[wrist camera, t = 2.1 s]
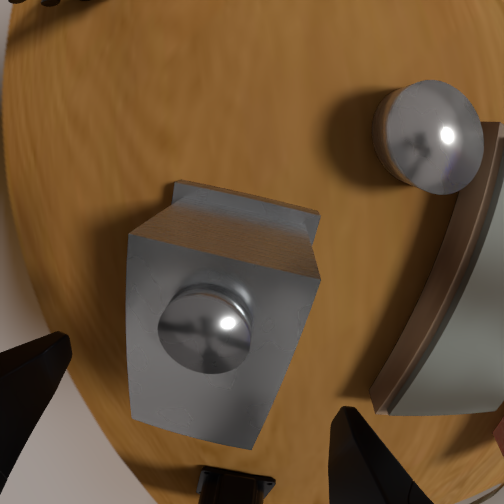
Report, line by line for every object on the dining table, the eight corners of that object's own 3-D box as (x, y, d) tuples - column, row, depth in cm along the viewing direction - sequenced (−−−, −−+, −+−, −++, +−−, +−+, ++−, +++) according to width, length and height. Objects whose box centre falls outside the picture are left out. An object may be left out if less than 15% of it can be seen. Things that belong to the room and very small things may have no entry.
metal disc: (442, 196, 12) (468, 208, 10) (360, 167, 12) (377, 173, 10) (462, 111, 10) (491, 109, 8) (381, 73, 10) (401, 61, 8)
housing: (267, 367, 16) (259, 472, 10) (163, 341, 16) (115, 434, 10) (317, 210, 13) (353, 280, 6) (182, 179, 13) (97, 219, 6)
